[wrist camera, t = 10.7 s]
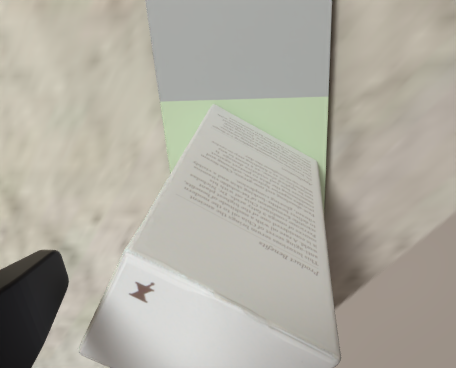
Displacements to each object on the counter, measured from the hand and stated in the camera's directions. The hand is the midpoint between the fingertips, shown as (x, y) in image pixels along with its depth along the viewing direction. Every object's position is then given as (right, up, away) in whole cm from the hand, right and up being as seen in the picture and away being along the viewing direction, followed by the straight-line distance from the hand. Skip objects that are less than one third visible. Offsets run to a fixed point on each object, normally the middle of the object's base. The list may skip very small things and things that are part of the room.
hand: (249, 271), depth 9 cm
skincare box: (+1, +3, +12) cm, 13 cm away
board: (0, +6, +11) cm, 13 cm away
